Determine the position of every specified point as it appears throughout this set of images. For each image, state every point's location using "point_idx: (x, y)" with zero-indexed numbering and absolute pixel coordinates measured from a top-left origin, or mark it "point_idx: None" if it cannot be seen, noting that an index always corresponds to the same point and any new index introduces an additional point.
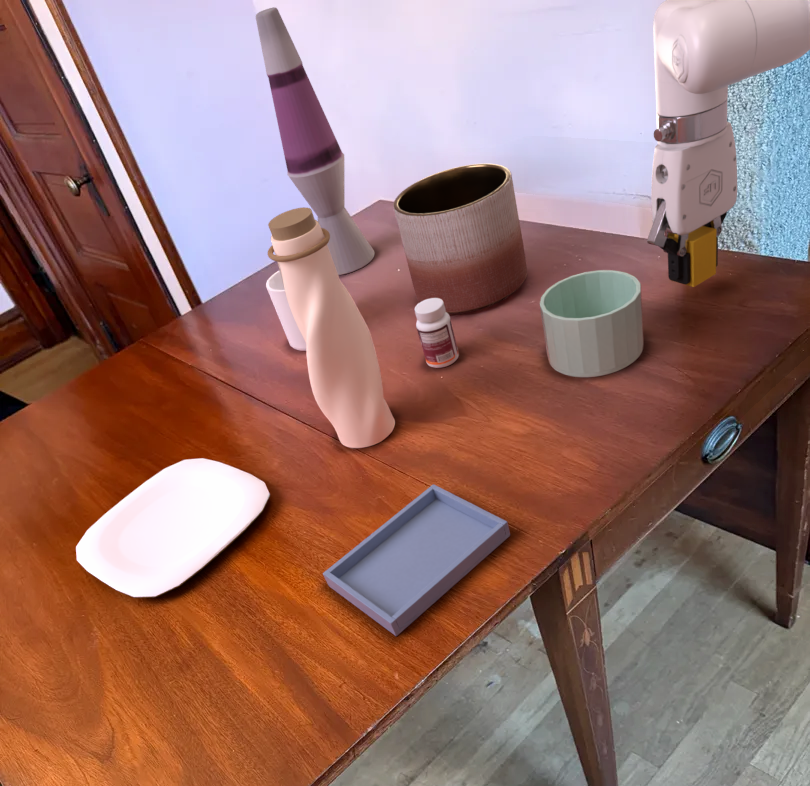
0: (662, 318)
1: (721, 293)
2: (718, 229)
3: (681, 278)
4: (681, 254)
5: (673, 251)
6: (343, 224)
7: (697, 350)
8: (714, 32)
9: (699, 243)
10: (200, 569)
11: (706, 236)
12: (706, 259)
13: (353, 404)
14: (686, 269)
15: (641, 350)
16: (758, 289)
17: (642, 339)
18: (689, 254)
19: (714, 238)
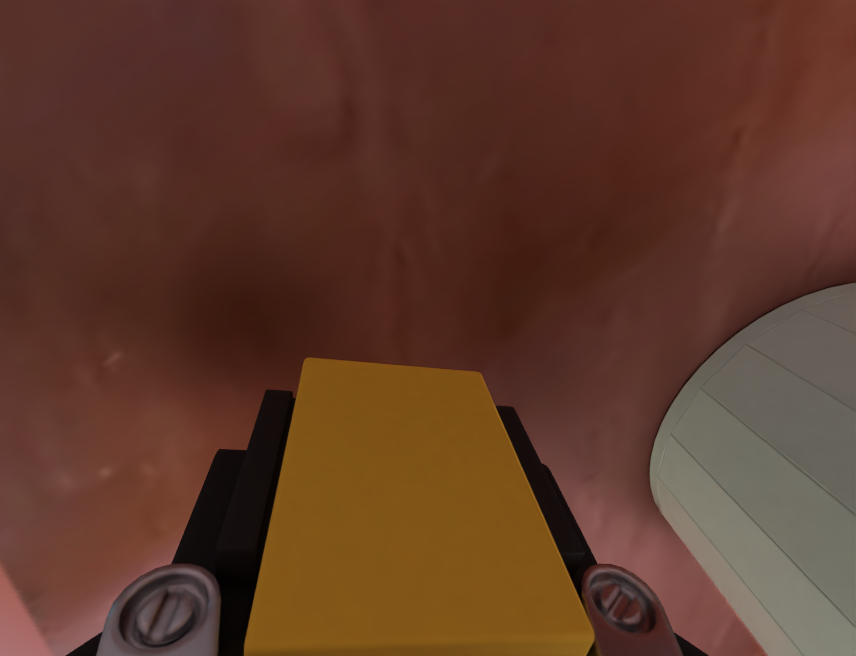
0: (559, 376)
1: (287, 290)
2: (151, 625)
3: None
4: (610, 584)
5: (689, 646)
6: None
7: (773, 92)
8: None
9: (501, 588)
10: None
11: (413, 620)
12: (392, 445)
13: None
14: (538, 469)
15: (816, 297)
16: (156, 141)
17: (835, 320)
18: (557, 547)
19: (295, 554)
